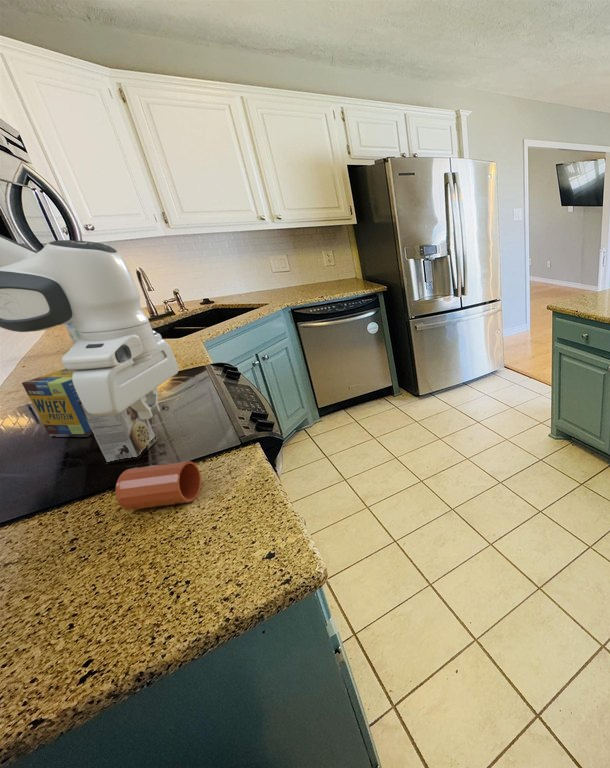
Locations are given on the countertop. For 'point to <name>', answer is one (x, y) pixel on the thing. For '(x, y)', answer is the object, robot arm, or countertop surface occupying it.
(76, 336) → the spray can
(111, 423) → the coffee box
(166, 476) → the cup
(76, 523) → the countertop surface
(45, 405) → the protein box
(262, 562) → the countertop surface
